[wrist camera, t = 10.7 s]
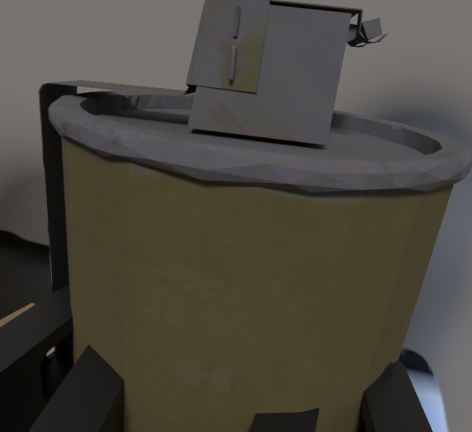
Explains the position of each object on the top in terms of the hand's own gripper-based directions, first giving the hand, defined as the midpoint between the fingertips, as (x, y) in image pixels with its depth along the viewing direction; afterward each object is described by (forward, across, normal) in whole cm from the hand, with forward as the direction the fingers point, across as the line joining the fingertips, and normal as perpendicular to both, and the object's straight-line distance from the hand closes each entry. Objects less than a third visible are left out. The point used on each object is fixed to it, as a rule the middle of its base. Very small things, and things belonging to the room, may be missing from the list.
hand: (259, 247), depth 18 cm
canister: (-6, 0, -11) cm, 12 cm away
